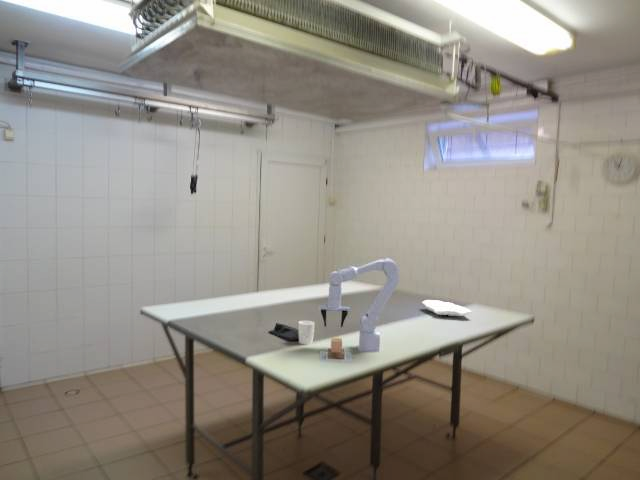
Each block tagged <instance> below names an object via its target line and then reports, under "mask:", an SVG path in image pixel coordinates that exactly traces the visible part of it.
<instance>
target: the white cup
mask: <svg viewBox="0 0 640 480" xmlns="http://www.w3.org/2000/svg"><path fill="white" fill-rule="evenodd" d="M315 323H316V322H315V321H311V320H299V321H298V328H297V329H298V333H299V340H298V343H299V344H302V345H311V344H313V343H314V335H315V327H316V324H315Z"/></svg>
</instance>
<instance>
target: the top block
mask: <svg viewBox="0 0 640 480" xmlns="http://www.w3.org/2000/svg"><path fill="white" fill-rule="evenodd" d="M330 339H331V340H330V348H331V352H335V353H342V349H343V339H342V338H339V337H337V338H336V337H334V338H333V337H331V338H330Z"/></svg>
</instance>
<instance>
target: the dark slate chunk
mask: <svg viewBox="0 0 640 480" xmlns="http://www.w3.org/2000/svg"><path fill="white" fill-rule="evenodd" d="M268 333H270V334H272V335H274V336H277V337H281V338H282V339H285V340H287V341H291V342H294V341H295V342H296V341H299V333H298V328H296V327H293V326H290V325H287V324H284V323H279V322H276V323H275V326H274V329H273V330H269V331H268Z"/></svg>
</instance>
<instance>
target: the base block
mask: <svg viewBox="0 0 640 480" xmlns="http://www.w3.org/2000/svg"><path fill="white" fill-rule="evenodd" d="M327 351H328V359H344V358H345V353H344V352H345V350H344V348H342V353H335V352H331V347H330V348H329V347H328V348H327Z"/></svg>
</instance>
